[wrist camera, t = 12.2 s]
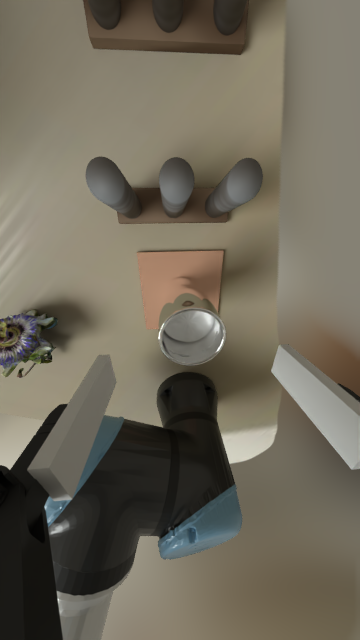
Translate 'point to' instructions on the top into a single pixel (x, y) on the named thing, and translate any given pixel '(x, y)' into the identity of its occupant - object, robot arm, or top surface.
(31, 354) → the passion flower
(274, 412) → the top surface
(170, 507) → the robot arm
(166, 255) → the tile pad
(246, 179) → the rack
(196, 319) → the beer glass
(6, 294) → the top surface
